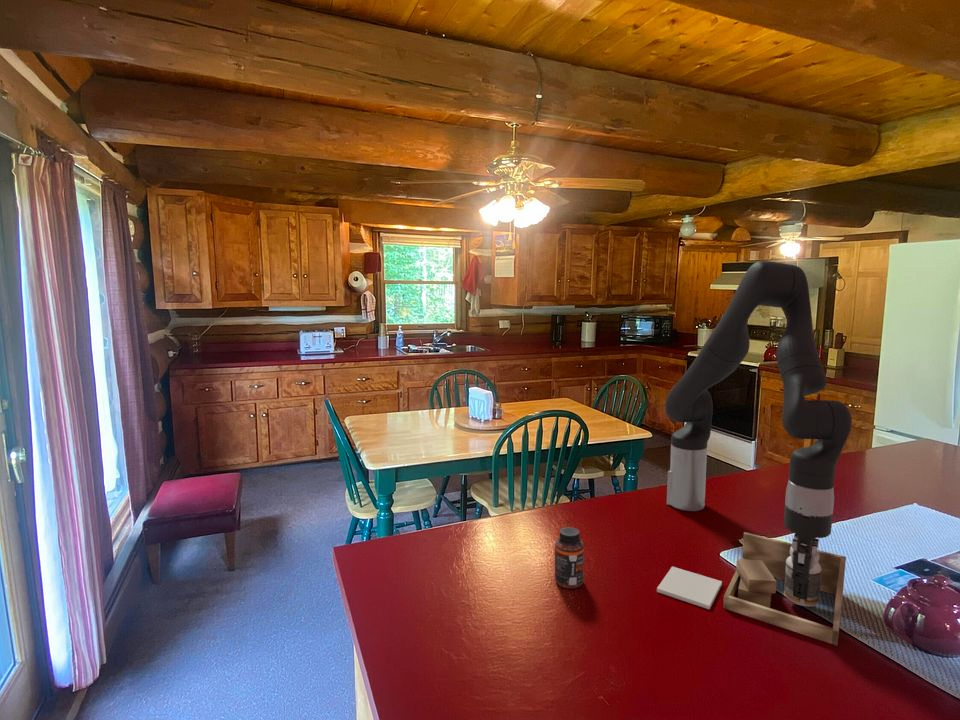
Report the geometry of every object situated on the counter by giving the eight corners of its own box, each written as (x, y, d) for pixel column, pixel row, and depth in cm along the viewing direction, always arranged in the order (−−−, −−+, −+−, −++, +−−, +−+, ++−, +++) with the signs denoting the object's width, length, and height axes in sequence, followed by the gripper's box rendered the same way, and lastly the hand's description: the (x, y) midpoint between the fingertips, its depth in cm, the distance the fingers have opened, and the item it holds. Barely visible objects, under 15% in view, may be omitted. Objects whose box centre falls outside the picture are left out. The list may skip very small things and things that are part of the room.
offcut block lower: (737, 603, 101) (738, 588, 101) (742, 580, 109) (743, 567, 109) (769, 611, 99) (770, 597, 98) (772, 587, 106) (773, 574, 106)
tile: (656, 591, 105) (656, 588, 105) (672, 569, 113) (672, 566, 112) (709, 609, 99) (709, 605, 99) (721, 585, 107) (722, 581, 106)
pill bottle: (813, 593, 101) (818, 545, 99) (822, 610, 96) (826, 560, 94) (780, 587, 103) (784, 541, 101) (787, 604, 97) (791, 555, 96)
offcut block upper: (748, 591, 100) (749, 579, 100) (736, 570, 107) (736, 558, 107) (775, 593, 99) (776, 581, 99) (761, 571, 107) (761, 560, 106)
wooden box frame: (723, 608, 99) (725, 569, 98) (742, 566, 113) (744, 532, 112) (837, 645, 88) (841, 602, 87) (842, 594, 103) (846, 556, 101)
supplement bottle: (581, 592, 105) (581, 540, 103) (552, 587, 107) (552, 535, 105) (585, 577, 110) (586, 527, 109) (558, 572, 113) (558, 523, 111)
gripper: (790, 488, 104) (784, 566, 107) (779, 514, 93) (773, 601, 95) (835, 497, 100) (828, 578, 102) (830, 526, 88) (821, 616, 91)
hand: (801, 588), depth 99 cm, fingers closed on pill bottle, 5 cm apart
